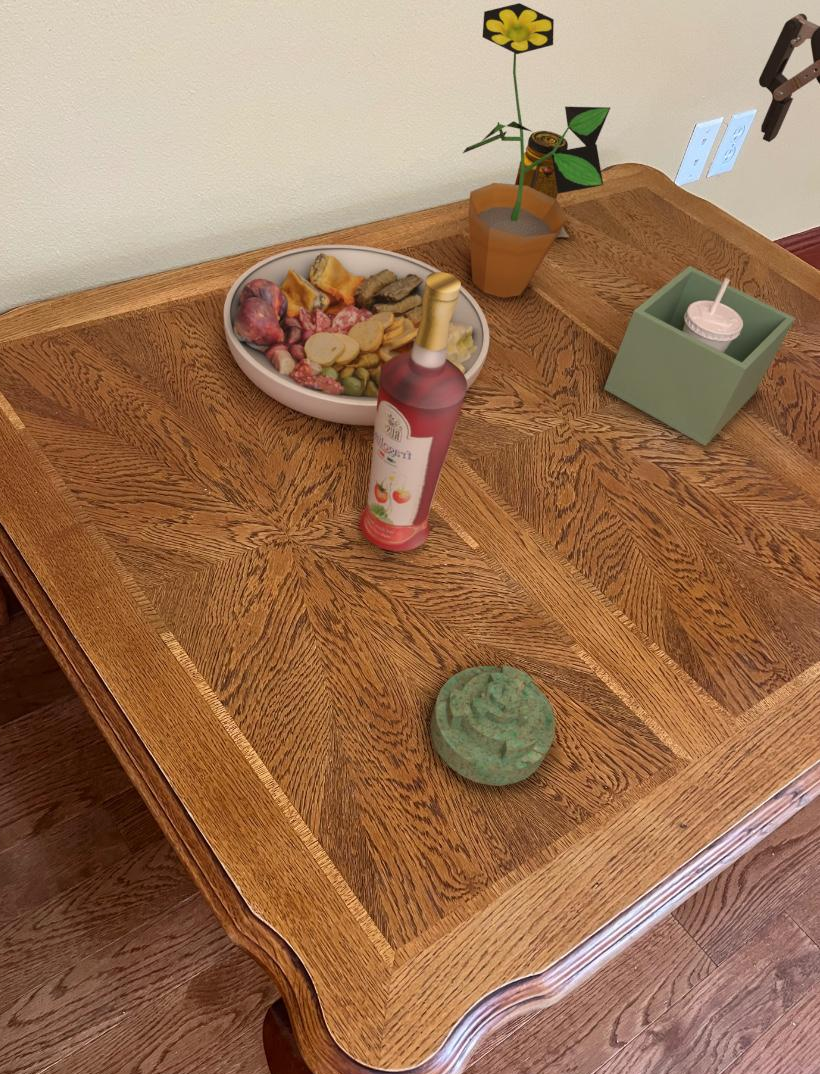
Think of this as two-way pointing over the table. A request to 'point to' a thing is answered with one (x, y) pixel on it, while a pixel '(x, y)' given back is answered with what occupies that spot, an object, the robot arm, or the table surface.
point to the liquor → (414, 425)
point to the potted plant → (516, 210)
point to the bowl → (338, 327)
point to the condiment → (542, 165)
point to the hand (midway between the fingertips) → (808, 155)
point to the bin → (694, 357)
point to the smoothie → (713, 321)
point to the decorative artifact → (492, 725)
